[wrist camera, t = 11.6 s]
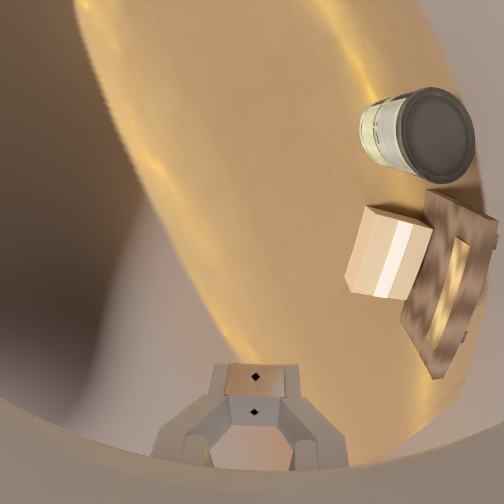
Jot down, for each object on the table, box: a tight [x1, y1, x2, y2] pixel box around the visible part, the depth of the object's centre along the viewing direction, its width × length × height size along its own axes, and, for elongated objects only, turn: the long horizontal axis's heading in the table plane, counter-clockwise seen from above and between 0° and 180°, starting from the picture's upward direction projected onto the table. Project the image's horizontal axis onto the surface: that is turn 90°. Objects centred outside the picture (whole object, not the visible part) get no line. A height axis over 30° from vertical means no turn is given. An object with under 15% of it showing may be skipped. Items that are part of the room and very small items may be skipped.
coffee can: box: [359, 87, 475, 184], centre depth 29 cm, size 10×10×14 cm
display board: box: [400, 190, 499, 380], centre depth 35 cm, size 24×7×16 cm, turn 1°
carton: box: [344, 206, 433, 300], centre depth 41 cm, size 12×10×5 cm
